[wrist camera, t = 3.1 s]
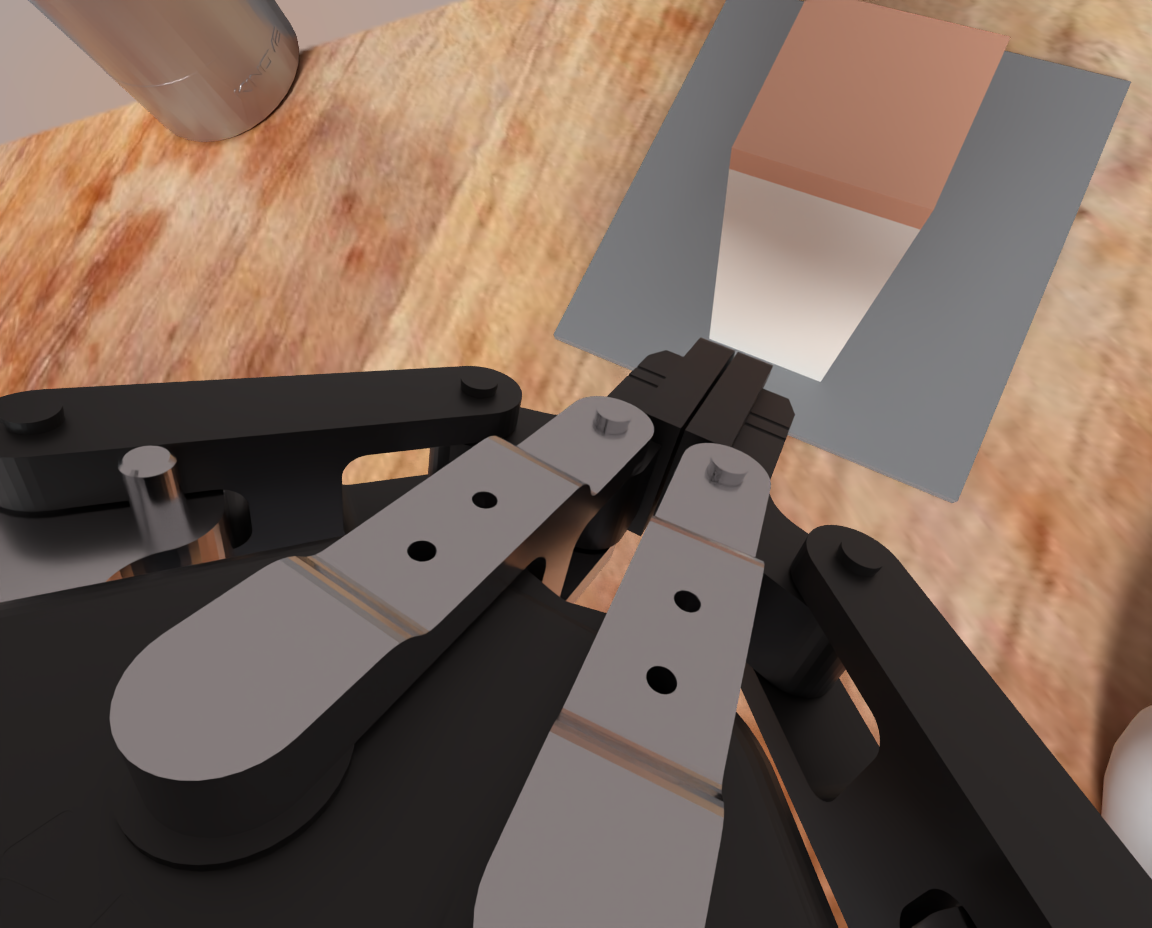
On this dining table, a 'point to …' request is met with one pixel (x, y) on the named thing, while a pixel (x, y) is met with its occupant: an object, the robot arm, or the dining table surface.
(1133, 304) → the dining table surface
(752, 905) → the robot arm
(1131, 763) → the donut
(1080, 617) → the dining table surface
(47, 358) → the dining table surface
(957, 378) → the mat
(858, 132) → the block
